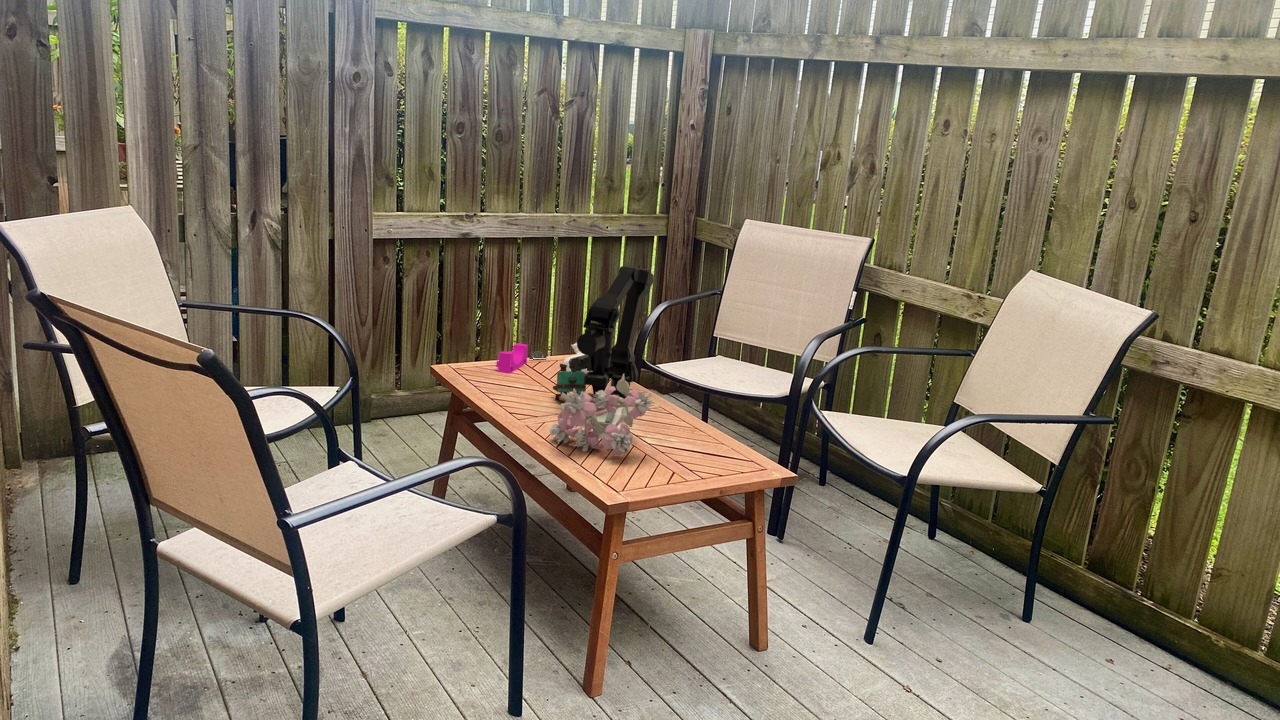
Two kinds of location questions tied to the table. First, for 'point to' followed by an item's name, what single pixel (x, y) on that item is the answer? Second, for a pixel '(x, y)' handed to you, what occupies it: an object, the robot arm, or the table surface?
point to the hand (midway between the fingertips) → (596, 402)
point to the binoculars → (569, 382)
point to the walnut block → (596, 402)
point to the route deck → (606, 419)
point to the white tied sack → (573, 357)
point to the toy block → (512, 359)
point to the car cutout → (537, 356)
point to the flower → (587, 415)
